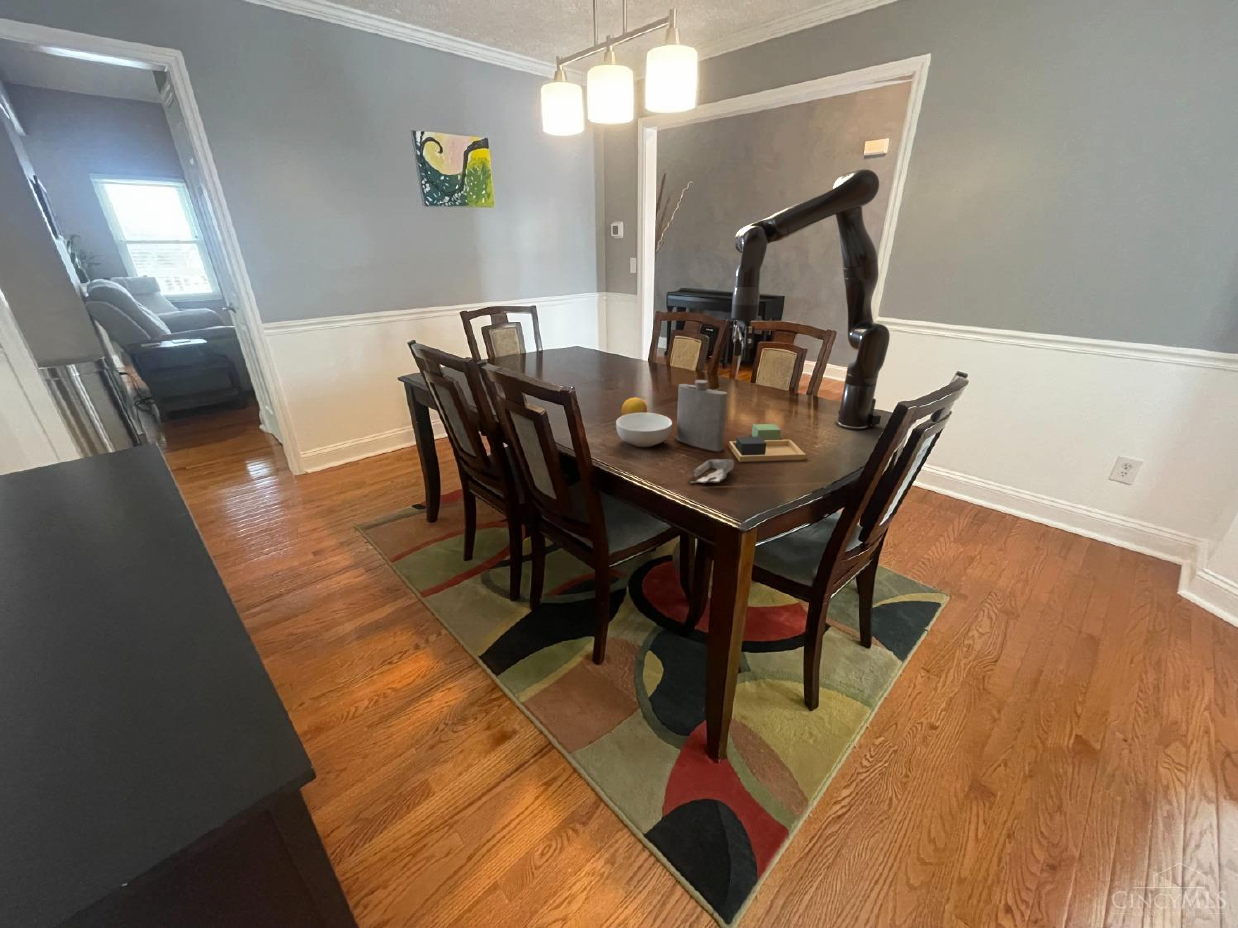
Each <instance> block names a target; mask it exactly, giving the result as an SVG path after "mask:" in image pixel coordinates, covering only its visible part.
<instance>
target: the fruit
mask: <svg viewBox="0 0 1238 928" xmlns="http://www.w3.org/2000/svg"><path fill="white" fill-rule="evenodd" d="M632 413H648V406H647V403H646V401H644V400H643V399H642V398H640V397H630V398H628V399H626V400H625V401H624V403H623V404H622V406H621V416H624V415H627V414H632Z"/></svg>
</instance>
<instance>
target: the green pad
mask: <svg viewBox="0 0 1238 928" xmlns="http://www.w3.org/2000/svg"><path fill="white" fill-rule="evenodd" d="M751 428H752V429H751V437H756V436H760V437H761V438H762V439H763V440H781V432H782V429H781V428H780V427H779V426H778V425H776V424H775V423H755V424H752V427H751Z"/></svg>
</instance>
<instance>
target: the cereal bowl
mask: <svg viewBox="0 0 1238 928" xmlns="http://www.w3.org/2000/svg"><path fill="white" fill-rule="evenodd" d="M615 428H616V429H615V430H616V433H617V435H618V436H619V438H620V439H621V440H622V441H623V442H626V443H627V444H631V445H632V446H635V447H637V448H638V447H639V448H651V447H654V446H656V445H658V444H662V443H663V442H664V441H666V440H668V438H669V437H670V435H671V433H672V429H673V421H672V419H671V418H669V417H668V416H666V415H664V414H660V413H654V412H647V413H632V414H627V415H624V416H623V415H621V416H620V417H618V418H617V419H616V421H615Z"/></svg>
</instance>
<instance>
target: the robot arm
mask: <svg viewBox="0 0 1238 928" xmlns="http://www.w3.org/2000/svg"><path fill="white" fill-rule="evenodd" d="M879 189H880V178H879V176H878V175H877V173H876V172H875V171H873V170H871V169H866V168H862V169H861V168H860V169H857V170H853V171H850V172H846V173H843V174H842V175H840V176H839V177H838V178H837V179H836V180H835V182H834V183H833V187H832V189H829V190H827V191H826V192H824V193H821V194H819V195H817V196H814V197H811V198H809V199H808V198H807V199H806V200H803V201H800V202H797V203H795V204H793V205H790V206H788V207H786V208H784V209H782V210H780V211H777V212H776V213H774V214H773V215H771V216H769V217H767V218H764V219H762V220H761V219H760V220H758V221H756V222H753V223H750V224H749V225H746V226H744V227H742V228H741V229H739V230H738V232H737V233H736V234H735V236H734V240H733V244H734V248H735V250H736V251H737V252H738V253H740V254H741V255H740V256H741V257H740V263H739V264H738V265H737V266H736V268H735V272H734V273H735V274H734V286H733V292H732V302H731V303H732V304H731V315H730V316H731V317H730V318H731V320H733V323H732V324H733V326H732V336H731V340H732V341H733V356H734V357H740V356H741V358H740V361H741V362H745V363H746V362H749V361H750V356H751V349H752V348H754V346H755V333H756V331H755V330H756V326H755V325H752V321H756V320H757V319H758V317H759V305H760V294H761V293H760V292H761V291H760V285H761V272H762V267H763V263H764V261H765V257H766V253H767V248H768V244H771V243H775V242H780V241H782V240H784V239H787V238H789V237H791V236H793V235H794V234H797V233H800V232H801V231H804V230H805V229H807V228H809V227H811V226H813V225H816V224H817V223H819V222H821V221H824V220H826V219H828V218H830V217H832V216H835V217H836V219H835V220H836V223H837V229H838V234H839V245H840V252H841V261H842V262H841V263H842V272H843V281H844V287H845V288H844V289H845V297H846V298H845V299H846V307H847V341H848V344H849V346H850V347H851V348H852V349H853V350H855V351H857V354H856V359H855V361H853V362H851V363H849V364H848V365H847V367H846V374H845V379H844V385H843V390H842V395H841V401H840V406H839V410H838V413H837V414H838V417H837V422H836V424H837V426H840V427H842V428H845V429H848V430H866V429H870V428H871V426H873V427H875V426H877V425H880V424H881V418H882V415H880V414H879V413H878V412H875V407H876V402H877V400H876V398H875V393H876V387H877V384H878V383H877V382H878V378H879V373H880V372H881V370H882V368H883V366H884V363H885V360H886V356H887V353H888V350H889V349H888V348H889V345H890V339H891V338H890V336H891V335H890V330H889V329H888V327H887V326H886V325H885V324H882V323H877V322H874V317H873V312H872V300H873V296H874V294H875V290H876V287H877V285H878V281H879V275H880V274H879V272H880V271H879V258H878V252H877V248H876V246H875V244H874V242H873V240H872V238H871V236H870V234H869V233H868V230H867V228H866V225H865V221H864V215H863V213H864V212H863V207H865V206H867V205H869V204H870V203H871V202H872V201H873V200H874V199H875V197H876V196H877V194H878V192H879Z"/></svg>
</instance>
